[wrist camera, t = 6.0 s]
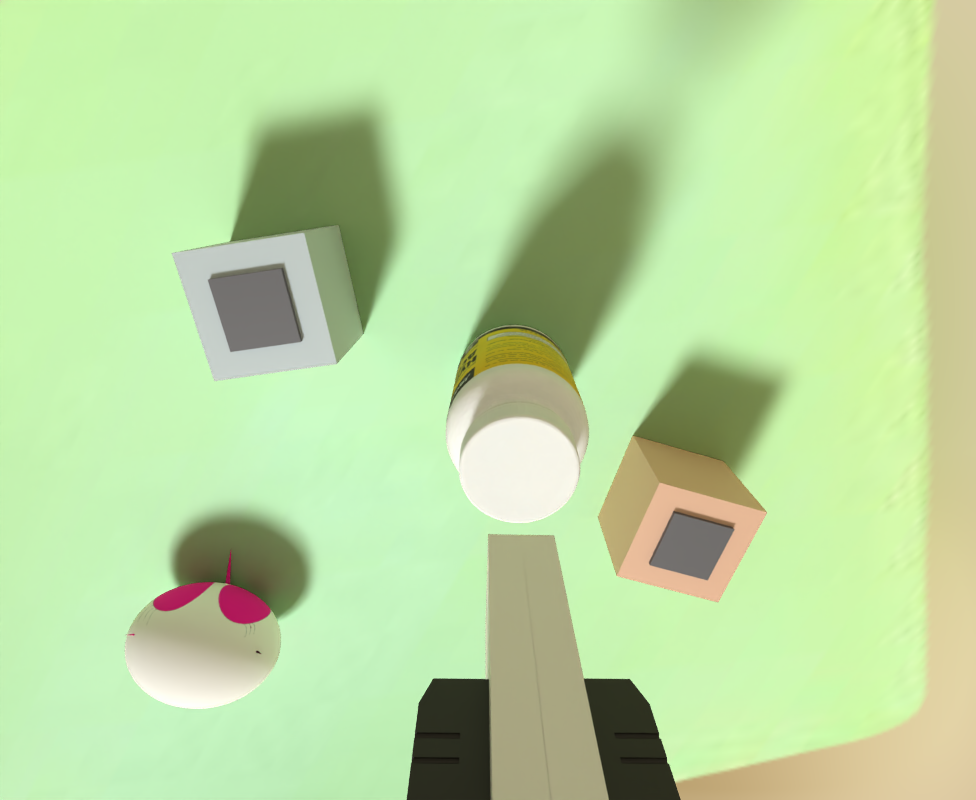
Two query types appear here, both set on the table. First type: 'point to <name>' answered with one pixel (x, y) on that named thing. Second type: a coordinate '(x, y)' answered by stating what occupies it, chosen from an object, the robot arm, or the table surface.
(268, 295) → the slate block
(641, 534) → the terracotta block
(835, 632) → the table surface
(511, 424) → the supplement bottle
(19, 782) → the table surface
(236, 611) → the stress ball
